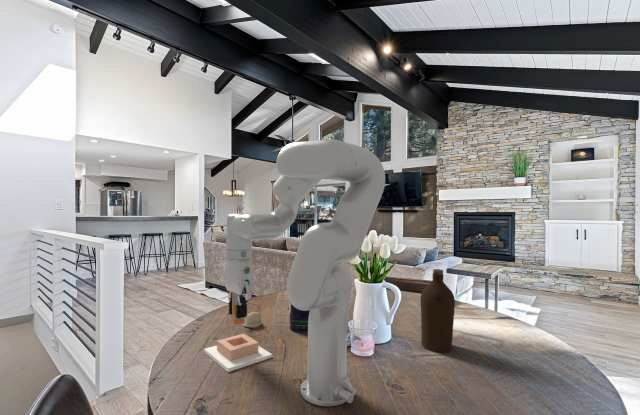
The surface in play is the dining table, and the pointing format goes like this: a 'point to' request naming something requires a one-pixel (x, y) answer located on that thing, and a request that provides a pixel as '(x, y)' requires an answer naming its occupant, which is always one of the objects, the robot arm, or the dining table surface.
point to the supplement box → (234, 303)
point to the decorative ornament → (253, 320)
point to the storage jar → (299, 320)
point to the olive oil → (437, 314)
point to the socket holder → (237, 352)
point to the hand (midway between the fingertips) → (237, 314)
